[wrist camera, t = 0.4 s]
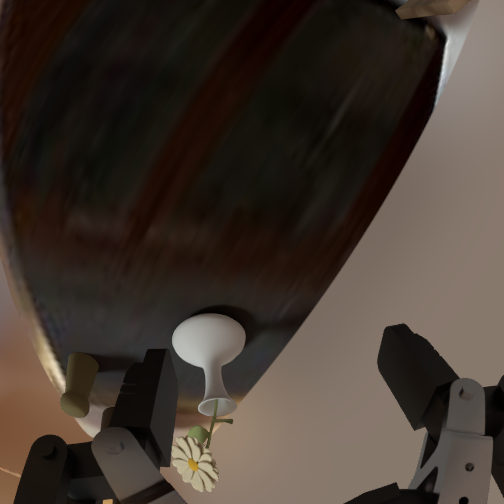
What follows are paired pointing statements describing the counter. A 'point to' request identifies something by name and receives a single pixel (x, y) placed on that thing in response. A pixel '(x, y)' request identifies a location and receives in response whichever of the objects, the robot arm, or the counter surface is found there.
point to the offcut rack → (429, 8)
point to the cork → (78, 384)
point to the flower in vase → (216, 399)
